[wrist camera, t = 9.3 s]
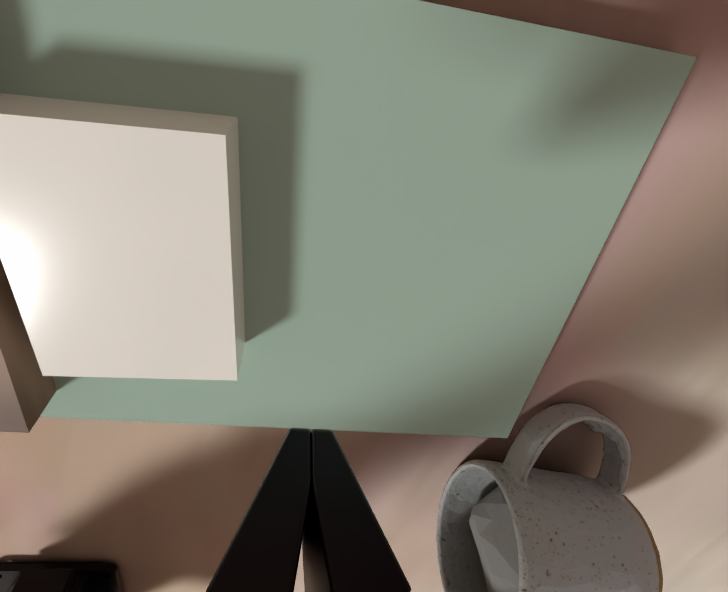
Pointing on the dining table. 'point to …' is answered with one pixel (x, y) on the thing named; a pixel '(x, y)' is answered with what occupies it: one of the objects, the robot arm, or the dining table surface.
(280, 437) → the dining table surface
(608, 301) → the dining table surface
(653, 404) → the dining table surface
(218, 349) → the ivory tile
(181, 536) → the dining table surface
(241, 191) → the sage mat
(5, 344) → the walnut deck
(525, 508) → the ceramic mug
